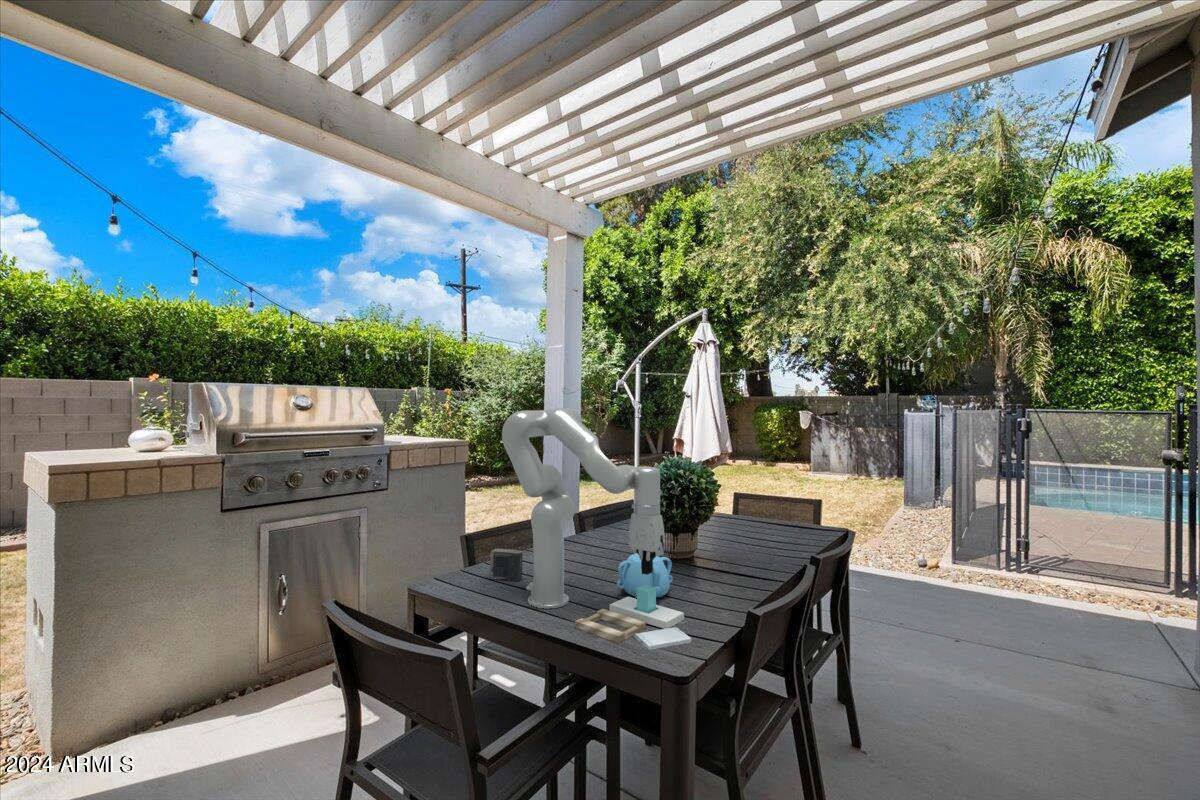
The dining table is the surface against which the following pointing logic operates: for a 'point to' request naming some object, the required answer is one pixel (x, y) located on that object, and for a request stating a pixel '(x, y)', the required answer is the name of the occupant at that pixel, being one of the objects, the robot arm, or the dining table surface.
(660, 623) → the port panel
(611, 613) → the tan hollow rectangular frame
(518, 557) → the camera
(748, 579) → the dining table surface
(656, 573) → the decorative pot
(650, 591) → the plug
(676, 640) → the hard drive
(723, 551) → the dining table surface
